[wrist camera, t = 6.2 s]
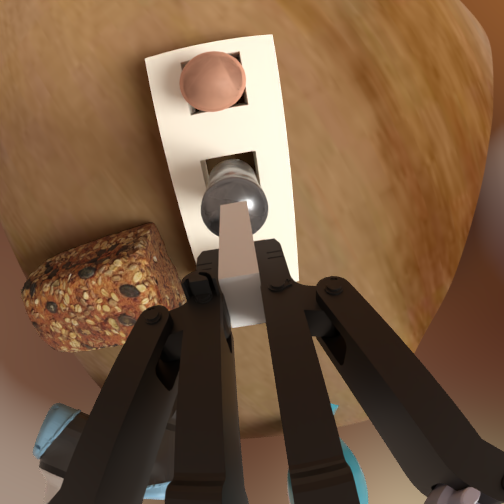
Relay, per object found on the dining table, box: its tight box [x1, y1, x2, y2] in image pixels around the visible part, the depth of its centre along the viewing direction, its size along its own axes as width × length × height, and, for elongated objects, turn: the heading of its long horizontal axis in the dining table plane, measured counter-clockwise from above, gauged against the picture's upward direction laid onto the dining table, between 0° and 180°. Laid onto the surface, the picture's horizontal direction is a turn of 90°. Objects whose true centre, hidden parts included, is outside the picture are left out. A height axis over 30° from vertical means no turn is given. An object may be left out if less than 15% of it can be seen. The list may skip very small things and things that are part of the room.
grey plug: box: [201, 159, 268, 236], centre depth 20 cm, size 4×4×6 cm
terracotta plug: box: [179, 51, 246, 112], centre depth 18 cm, size 4×4×6 cm
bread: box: [21, 223, 185, 352], centre depth 28 cm, size 19×11×10 cm, turn 102°
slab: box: [145, 35, 299, 281], centre depth 25 cm, size 10×24×4 cm, turn 8°
